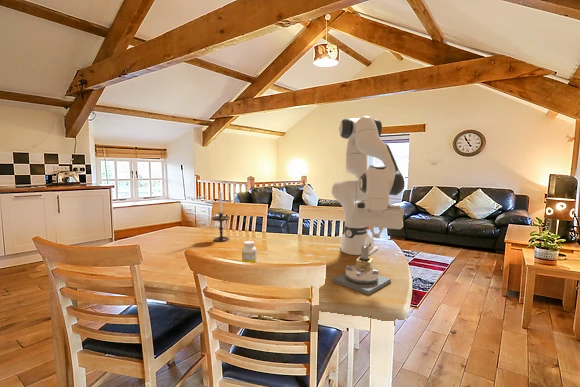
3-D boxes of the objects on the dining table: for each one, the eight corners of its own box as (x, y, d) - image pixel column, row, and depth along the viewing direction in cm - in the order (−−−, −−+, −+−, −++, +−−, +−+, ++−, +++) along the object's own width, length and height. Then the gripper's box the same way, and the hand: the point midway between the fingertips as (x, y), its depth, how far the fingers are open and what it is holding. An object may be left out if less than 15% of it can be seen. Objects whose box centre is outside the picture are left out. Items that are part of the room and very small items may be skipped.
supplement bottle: (246, 266, 143) (245, 239, 141) (259, 267, 141) (258, 240, 139) (239, 271, 136) (239, 243, 135) (253, 272, 134) (252, 244, 133)
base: (355, 271, 136) (355, 262, 136) (390, 282, 124) (391, 272, 123) (332, 281, 124) (332, 272, 124) (368, 294, 112) (369, 284, 112)
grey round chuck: (374, 286, 115) (375, 270, 114) (341, 280, 121) (342, 265, 120) (381, 274, 128) (381, 259, 127) (350, 269, 133) (351, 255, 133)
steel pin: (363, 265, 130) (363, 245, 129) (369, 267, 127) (370, 246, 126) (359, 267, 128) (359, 246, 127) (365, 269, 125) (366, 248, 124)
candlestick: (213, 243, 183) (212, 185, 179) (211, 238, 193) (210, 184, 189) (231, 241, 186) (230, 185, 183) (228, 237, 197) (227, 183, 193)
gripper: (405, 205, 121) (403, 238, 122) (354, 202, 130) (353, 233, 131) (403, 207, 115) (402, 242, 117) (350, 203, 124) (350, 236, 126)
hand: (376, 237), depth 124 cm, fingers closed
